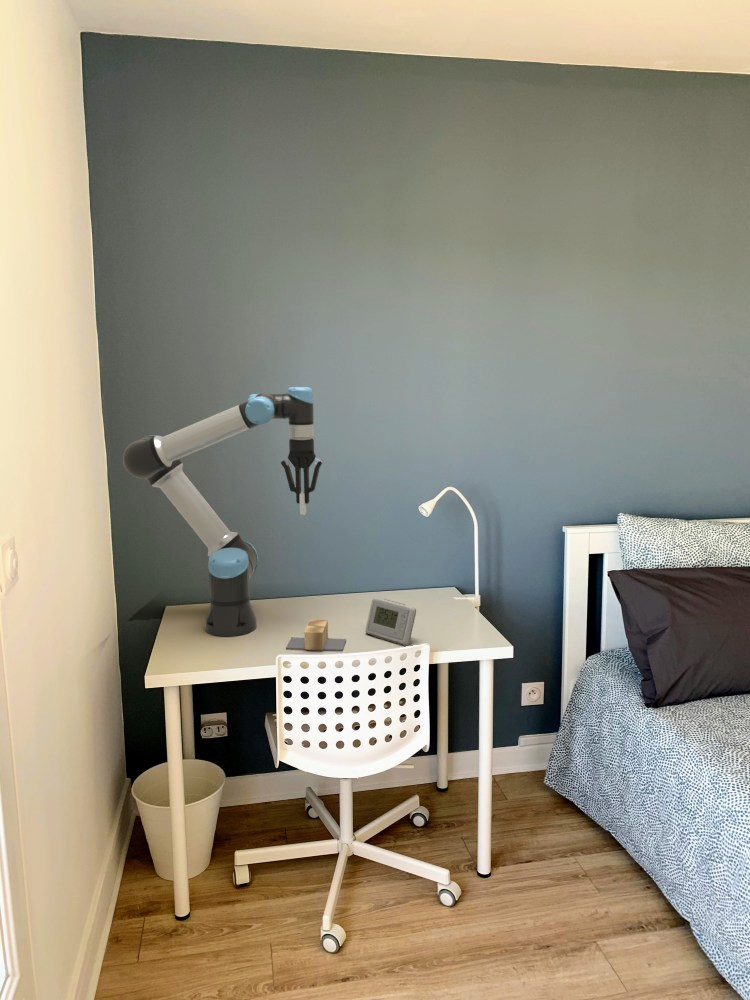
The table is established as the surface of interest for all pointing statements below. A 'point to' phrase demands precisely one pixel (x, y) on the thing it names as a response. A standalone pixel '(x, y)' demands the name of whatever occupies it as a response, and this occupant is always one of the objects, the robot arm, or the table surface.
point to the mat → (330, 645)
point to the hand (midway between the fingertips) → (303, 513)
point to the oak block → (316, 634)
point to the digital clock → (390, 621)
